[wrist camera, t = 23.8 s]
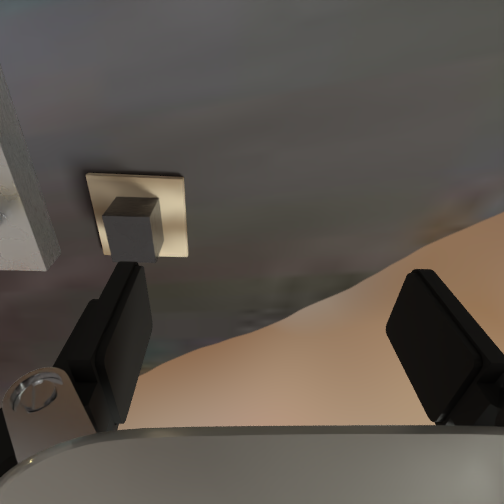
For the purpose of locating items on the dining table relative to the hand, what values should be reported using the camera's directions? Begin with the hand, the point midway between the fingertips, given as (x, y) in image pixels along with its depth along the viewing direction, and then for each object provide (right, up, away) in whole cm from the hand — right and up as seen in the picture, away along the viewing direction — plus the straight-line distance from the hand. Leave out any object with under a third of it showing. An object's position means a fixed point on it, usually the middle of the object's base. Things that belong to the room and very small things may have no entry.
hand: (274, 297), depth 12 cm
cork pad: (-15, +6, +29) cm, 33 cm away
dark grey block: (-15, +6, +29) cm, 33 cm away
